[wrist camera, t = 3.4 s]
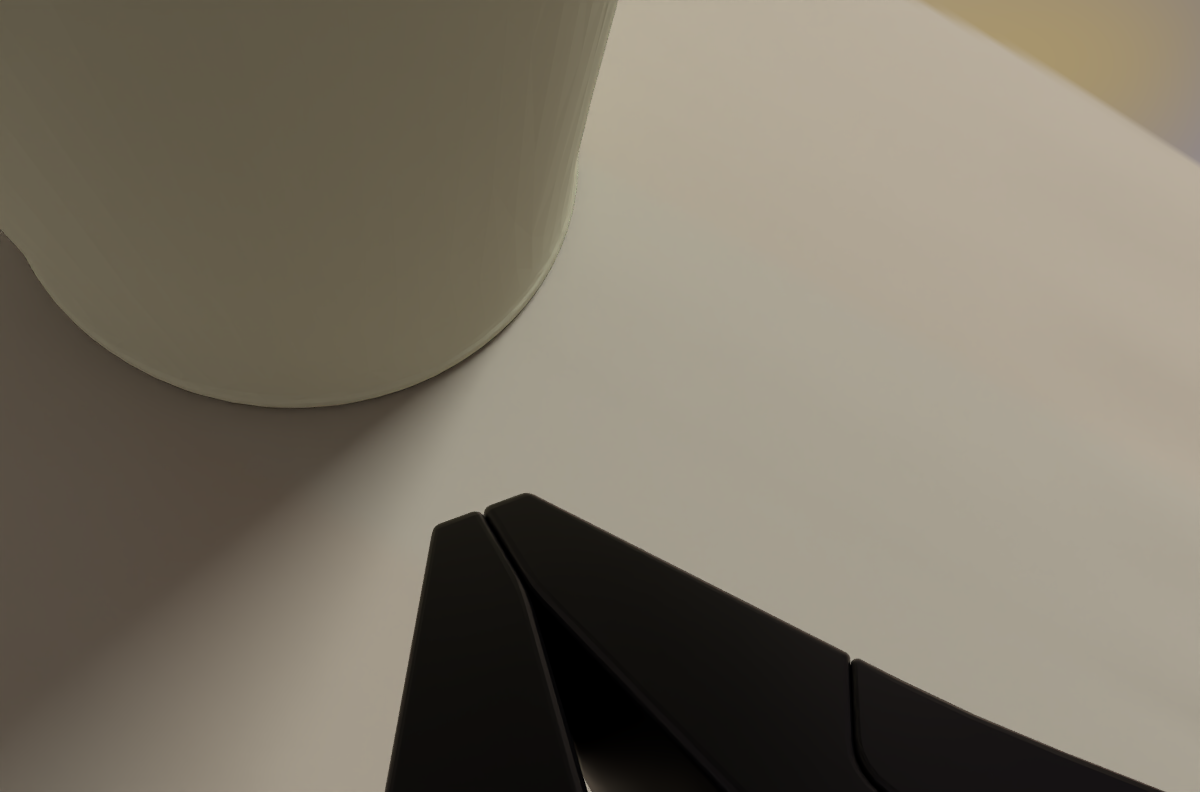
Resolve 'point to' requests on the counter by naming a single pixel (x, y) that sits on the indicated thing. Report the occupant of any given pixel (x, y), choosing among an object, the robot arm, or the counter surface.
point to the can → (293, 179)
